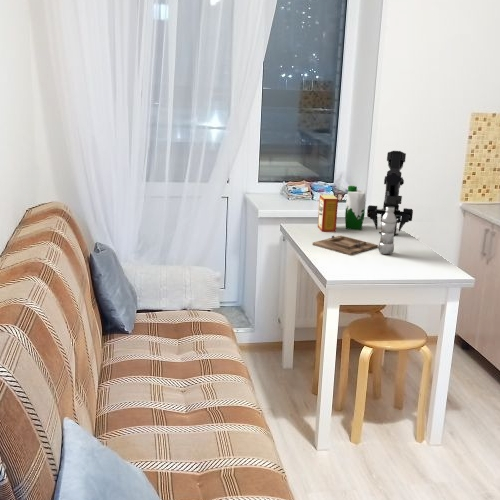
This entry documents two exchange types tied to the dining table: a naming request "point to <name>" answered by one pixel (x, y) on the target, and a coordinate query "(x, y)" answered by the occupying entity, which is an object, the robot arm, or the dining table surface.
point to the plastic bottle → (387, 231)
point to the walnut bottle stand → (345, 245)
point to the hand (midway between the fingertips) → (387, 230)
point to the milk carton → (355, 208)
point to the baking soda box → (327, 213)
